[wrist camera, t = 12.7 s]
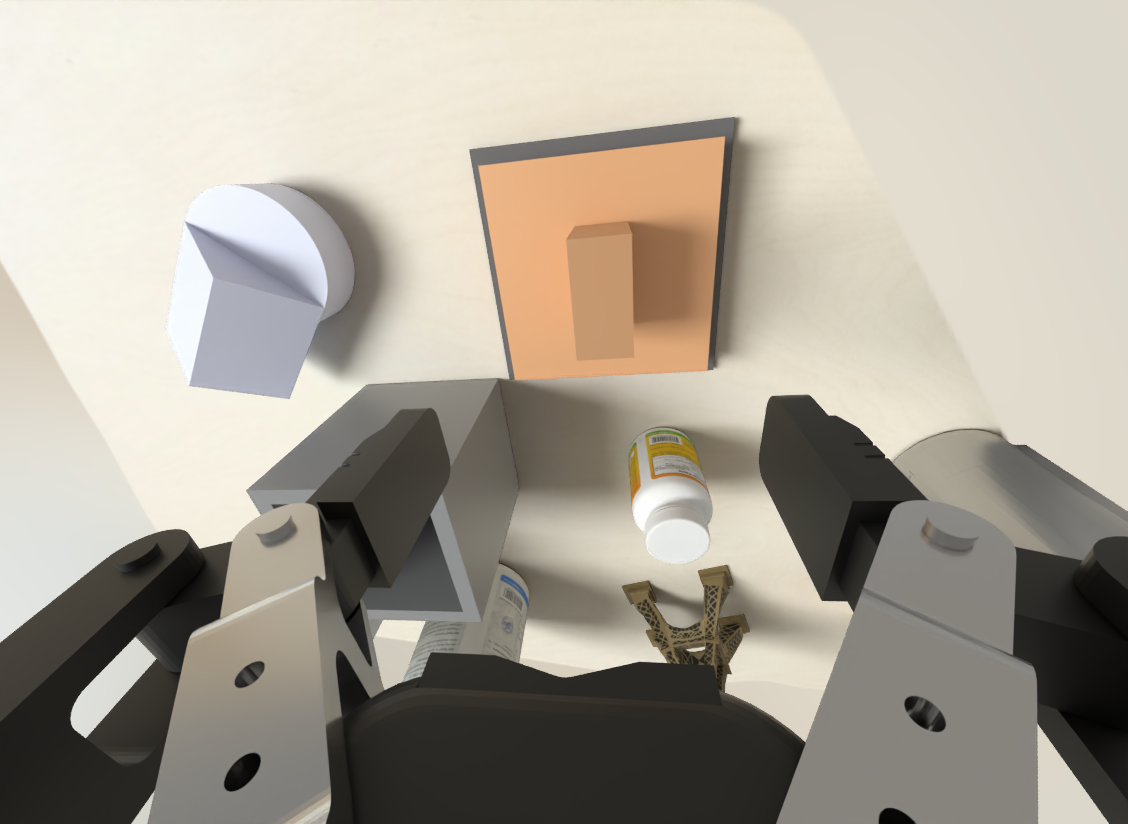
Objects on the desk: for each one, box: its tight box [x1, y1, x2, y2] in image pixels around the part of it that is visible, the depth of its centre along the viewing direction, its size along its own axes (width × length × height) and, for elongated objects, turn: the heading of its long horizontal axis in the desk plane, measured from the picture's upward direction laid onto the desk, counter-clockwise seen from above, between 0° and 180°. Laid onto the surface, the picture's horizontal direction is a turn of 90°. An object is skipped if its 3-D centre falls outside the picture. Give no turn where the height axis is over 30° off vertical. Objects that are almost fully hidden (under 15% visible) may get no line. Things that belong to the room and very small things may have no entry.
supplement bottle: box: [629, 428, 713, 564], centre depth 30 cm, size 5×5×10 cm
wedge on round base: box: [166, 184, 355, 399], centre depth 27 cm, size 9×7×13 cm
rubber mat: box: [470, 117, 735, 380], centre depth 27 cm, size 15×15×1 cm
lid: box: [478, 136, 725, 380], centre depth 24 cm, size 13×13×8 cm
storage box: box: [246, 378, 519, 622], centre depth 30 cm, size 11×11×13 cm
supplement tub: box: [402, 563, 529, 682], centre depth 39 cm, size 10×10×15 cm
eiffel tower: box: [622, 565, 750, 693], centre depth 33 cm, size 11×11×25 cm
